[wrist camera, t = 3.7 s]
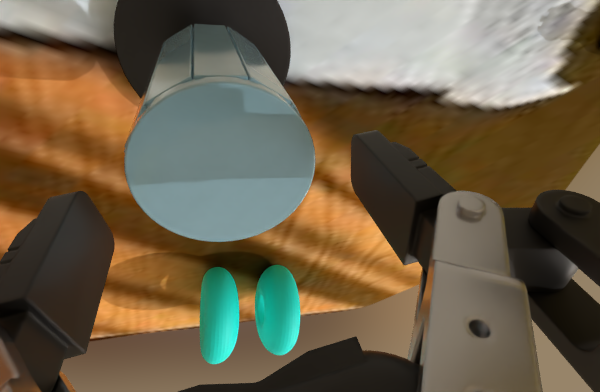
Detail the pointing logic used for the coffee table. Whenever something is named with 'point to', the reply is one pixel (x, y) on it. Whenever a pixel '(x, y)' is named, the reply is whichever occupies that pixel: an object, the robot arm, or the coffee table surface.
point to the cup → (217, 140)
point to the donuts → (268, 312)
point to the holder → (188, 11)
